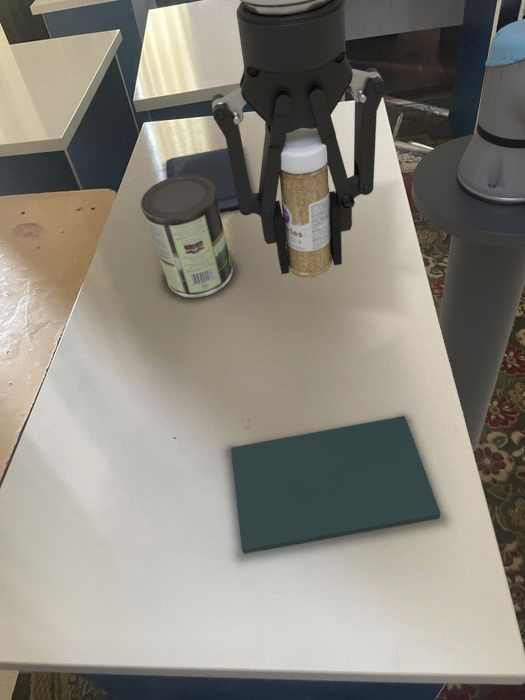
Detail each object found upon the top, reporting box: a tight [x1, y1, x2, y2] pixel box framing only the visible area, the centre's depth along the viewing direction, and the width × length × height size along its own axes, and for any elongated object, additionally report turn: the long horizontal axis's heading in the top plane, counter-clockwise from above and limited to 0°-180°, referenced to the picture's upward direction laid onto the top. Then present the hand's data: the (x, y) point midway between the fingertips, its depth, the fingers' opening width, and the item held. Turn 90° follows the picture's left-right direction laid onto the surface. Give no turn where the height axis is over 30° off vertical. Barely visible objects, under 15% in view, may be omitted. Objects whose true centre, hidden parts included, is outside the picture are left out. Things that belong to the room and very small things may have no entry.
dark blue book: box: [165, 147, 253, 213], centre depth 102 cm, size 20×2×15 cm
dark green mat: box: [230, 415, 442, 554], centre depth 61 cm, size 20×12×1 cm, turn 98°
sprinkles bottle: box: [279, 128, 333, 279], centre depth 52 cm, size 5×5×13 cm
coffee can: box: [140, 175, 234, 299], centre depth 81 cm, size 10×10×14 cm
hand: (309, 260), depth 56 cm, fingers closed on sprinkles bottle, 4 cm apart
